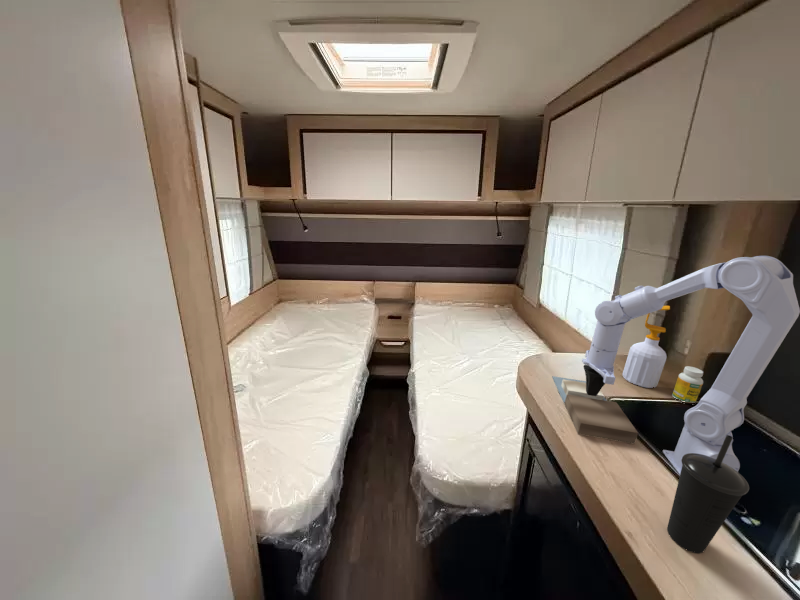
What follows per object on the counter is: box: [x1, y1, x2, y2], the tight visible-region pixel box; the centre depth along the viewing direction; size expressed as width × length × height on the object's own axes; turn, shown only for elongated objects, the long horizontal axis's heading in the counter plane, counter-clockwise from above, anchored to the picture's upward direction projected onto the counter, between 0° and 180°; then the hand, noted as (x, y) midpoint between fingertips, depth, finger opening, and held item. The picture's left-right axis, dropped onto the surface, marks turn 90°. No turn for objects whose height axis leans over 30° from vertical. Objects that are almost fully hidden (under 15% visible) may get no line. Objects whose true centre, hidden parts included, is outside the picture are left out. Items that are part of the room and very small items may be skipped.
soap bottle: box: [622, 305, 671, 389], centre depth 101 cm, size 9×9×25 cm
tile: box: [561, 379, 605, 400], centre depth 94 cm, size 6×9×2 cm, turn 79°
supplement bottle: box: [671, 365, 704, 403], centre depth 94 cm, size 5×5×10 cm
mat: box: [551, 375, 608, 404], centre depth 95 cm, size 14×12×1 cm
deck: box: [564, 395, 639, 445], centre depth 82 cm, size 12×12×3 cm
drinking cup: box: [666, 435, 750, 554], centre depth 52 cm, size 8×8×20 cm
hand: (591, 394), depth 88 cm, fingers closed
